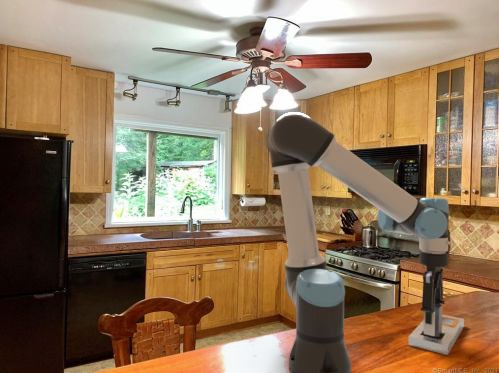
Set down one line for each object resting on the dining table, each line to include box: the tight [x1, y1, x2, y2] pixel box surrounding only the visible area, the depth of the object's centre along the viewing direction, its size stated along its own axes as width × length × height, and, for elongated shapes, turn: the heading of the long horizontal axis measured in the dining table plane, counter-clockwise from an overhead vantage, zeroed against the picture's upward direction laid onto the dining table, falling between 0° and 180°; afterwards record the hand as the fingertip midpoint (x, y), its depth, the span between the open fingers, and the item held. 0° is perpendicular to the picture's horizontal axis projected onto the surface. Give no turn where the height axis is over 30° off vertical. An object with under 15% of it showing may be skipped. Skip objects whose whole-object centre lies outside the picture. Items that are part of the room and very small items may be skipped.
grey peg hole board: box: [408, 314, 465, 356], centre depth 114 cm, size 10×26×3 cm, turn 142°
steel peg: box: [424, 303, 443, 340], centre depth 108 cm, size 4×4×11 cm
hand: (432, 329), depth 108 cm, fingers open, 8 cm apart
